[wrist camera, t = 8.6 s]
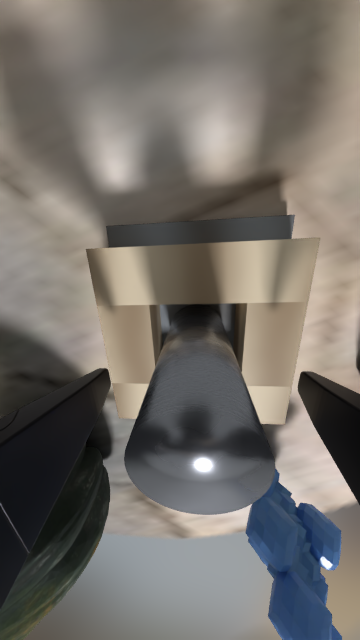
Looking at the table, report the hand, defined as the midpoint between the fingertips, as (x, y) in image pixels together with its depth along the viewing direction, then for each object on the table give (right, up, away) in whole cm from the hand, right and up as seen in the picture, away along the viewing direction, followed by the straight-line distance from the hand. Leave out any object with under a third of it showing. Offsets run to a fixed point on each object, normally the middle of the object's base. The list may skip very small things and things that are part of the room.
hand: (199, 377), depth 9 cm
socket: (+1, +2, +7) cm, 7 cm away
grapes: (+8, -12, +11) cm, 18 cm away
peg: (0, +2, +6) cm, 6 cm away
